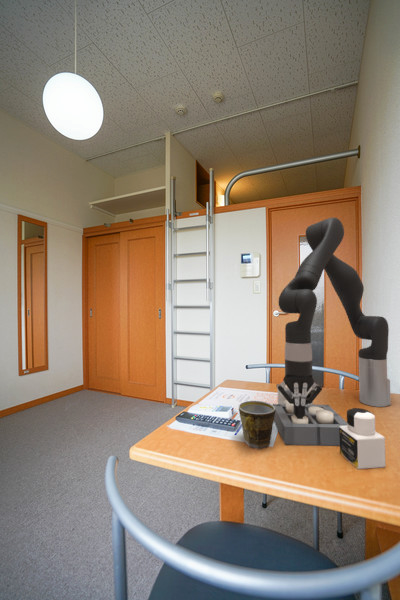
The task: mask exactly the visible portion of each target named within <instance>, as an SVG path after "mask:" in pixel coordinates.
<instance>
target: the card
mask: <svg viewBox="0 0 400 600" xmlns="http://www.w3.org/2000/svg"><path fill="white" fill-rule="evenodd" d="M285 387H286V390H285V391H286V393H287V394H288V395H289V396H290V398H293V397H292V392H291V391H290V390H289V388H288V387H287V385H285ZM276 388H277V387H276ZM311 390H312V389H311V388H310V389H309V391H308V392H307V394H306V396H307V395H308V394H309V392H310V391H311ZM286 402H288V401H287V400H286V398H285V397H284V396H283V395H282V393H281V392H280V391H279V390H278V388H277V404H286ZM310 405H314V401H313V402H312V403H311V404H310Z"/></svg>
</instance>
